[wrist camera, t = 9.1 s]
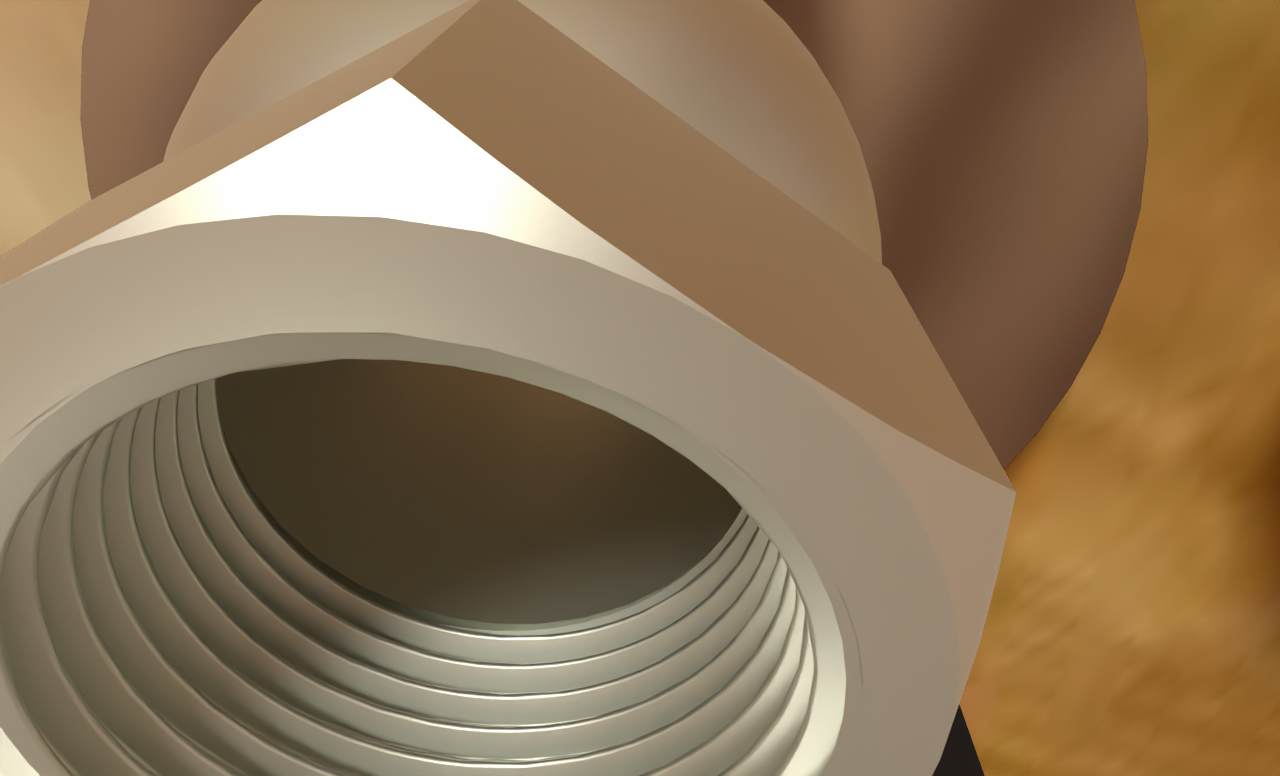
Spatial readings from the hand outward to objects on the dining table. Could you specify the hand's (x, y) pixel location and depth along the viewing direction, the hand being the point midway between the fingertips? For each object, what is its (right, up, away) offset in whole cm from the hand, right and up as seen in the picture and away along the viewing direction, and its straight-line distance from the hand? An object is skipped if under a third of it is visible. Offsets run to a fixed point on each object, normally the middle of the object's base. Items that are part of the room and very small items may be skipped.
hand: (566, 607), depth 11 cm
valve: (0, +2, 0) cm, 2 cm away
